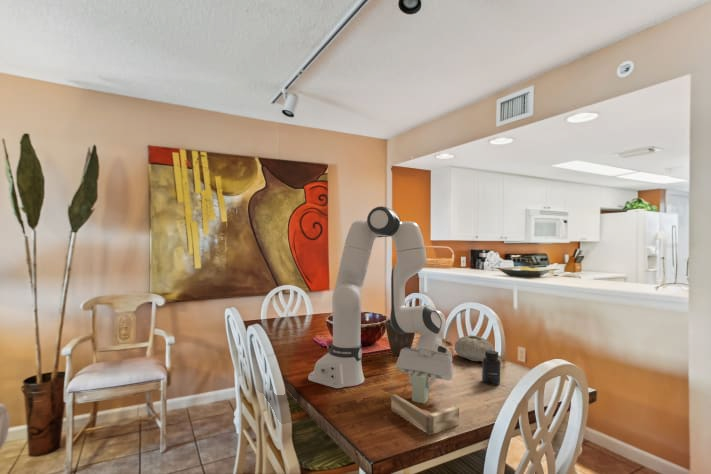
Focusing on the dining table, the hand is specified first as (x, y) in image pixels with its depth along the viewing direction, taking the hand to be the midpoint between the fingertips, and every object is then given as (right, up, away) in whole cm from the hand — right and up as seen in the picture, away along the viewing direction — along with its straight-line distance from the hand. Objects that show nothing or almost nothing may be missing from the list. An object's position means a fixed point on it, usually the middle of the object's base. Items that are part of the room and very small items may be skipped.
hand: (419, 386), depth 129 cm
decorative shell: (+33, -6, +45) cm, 56 cm away
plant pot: (0, -5, +50) cm, 50 cm away
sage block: (0, -5, +1) cm, 5 cm away
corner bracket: (-1, -5, -12) cm, 13 cm away
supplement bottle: (+31, -5, +17) cm, 36 cm away
